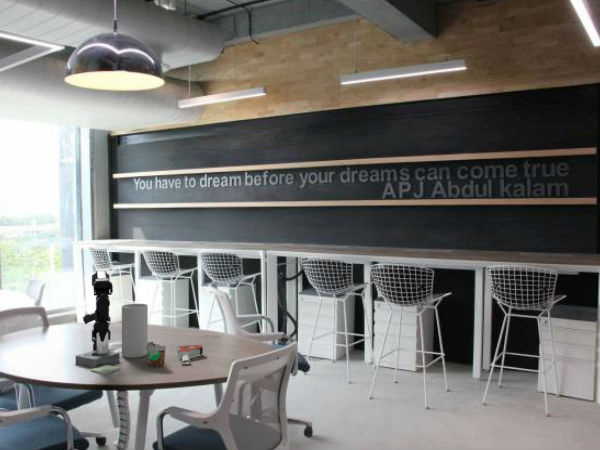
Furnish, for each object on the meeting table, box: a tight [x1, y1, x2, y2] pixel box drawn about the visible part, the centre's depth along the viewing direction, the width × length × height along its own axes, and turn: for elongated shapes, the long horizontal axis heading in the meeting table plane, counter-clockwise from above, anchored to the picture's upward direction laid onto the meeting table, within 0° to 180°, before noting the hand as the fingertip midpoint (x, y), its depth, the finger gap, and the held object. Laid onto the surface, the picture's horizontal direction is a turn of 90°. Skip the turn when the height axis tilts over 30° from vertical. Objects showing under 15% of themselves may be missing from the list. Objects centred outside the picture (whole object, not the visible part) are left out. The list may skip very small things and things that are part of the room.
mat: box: [90, 364, 121, 375], centre depth 257 cm, size 9×9×1 cm
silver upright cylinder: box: [97, 332, 109, 354], centre depth 259 cm, size 5×5×9 cm
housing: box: [75, 350, 120, 369], centre depth 269 cm, size 14×14×4 cm
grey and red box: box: [176, 344, 204, 365], centre depth 278 cm, size 18×5×20 cm
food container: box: [146, 340, 167, 367], centre depth 265 cm, size 12×6×10 cm, turn 45°
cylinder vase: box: [121, 303, 149, 359], centre depth 283 cm, size 12×12×25 cm
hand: (102, 340), depth 259 cm, fingers closed on silver upright cylinder, 5 cm apart
